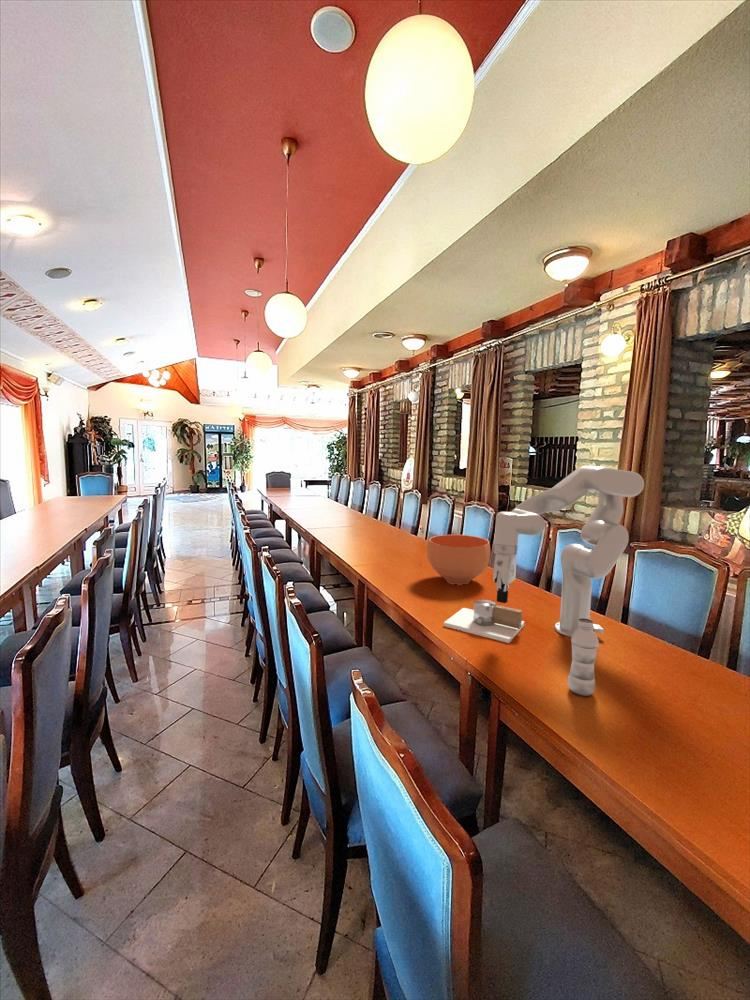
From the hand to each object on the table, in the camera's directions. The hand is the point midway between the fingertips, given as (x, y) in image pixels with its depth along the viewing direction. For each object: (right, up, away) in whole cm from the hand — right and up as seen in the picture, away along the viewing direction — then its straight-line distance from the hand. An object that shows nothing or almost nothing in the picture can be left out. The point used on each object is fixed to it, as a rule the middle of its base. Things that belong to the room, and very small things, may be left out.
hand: (501, 601), depth 146 cm
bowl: (-2, -6, +65) cm, 66 cm away
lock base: (-3, -12, +13) cm, 17 cm away
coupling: (+1, -10, +10) cm, 14 cm away
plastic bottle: (+12, -17, -30) cm, 37 cm away
